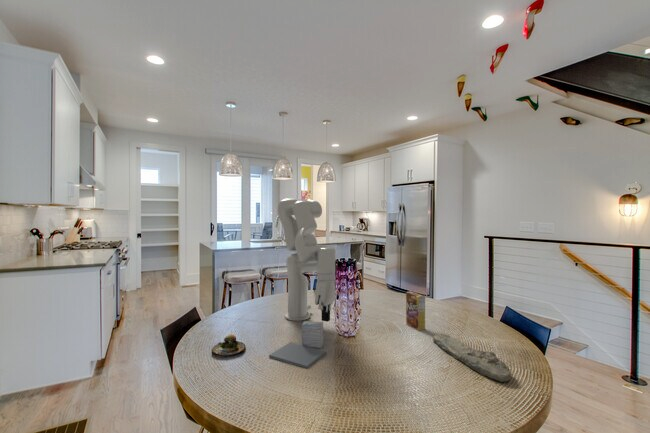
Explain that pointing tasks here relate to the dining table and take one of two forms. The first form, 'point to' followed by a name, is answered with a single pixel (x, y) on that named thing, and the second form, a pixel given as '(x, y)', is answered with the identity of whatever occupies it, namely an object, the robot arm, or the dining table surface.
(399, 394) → the dining table surface
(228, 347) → the burger
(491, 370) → the long grey stone
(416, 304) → the candy box
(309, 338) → the medicine box
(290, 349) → the mat
